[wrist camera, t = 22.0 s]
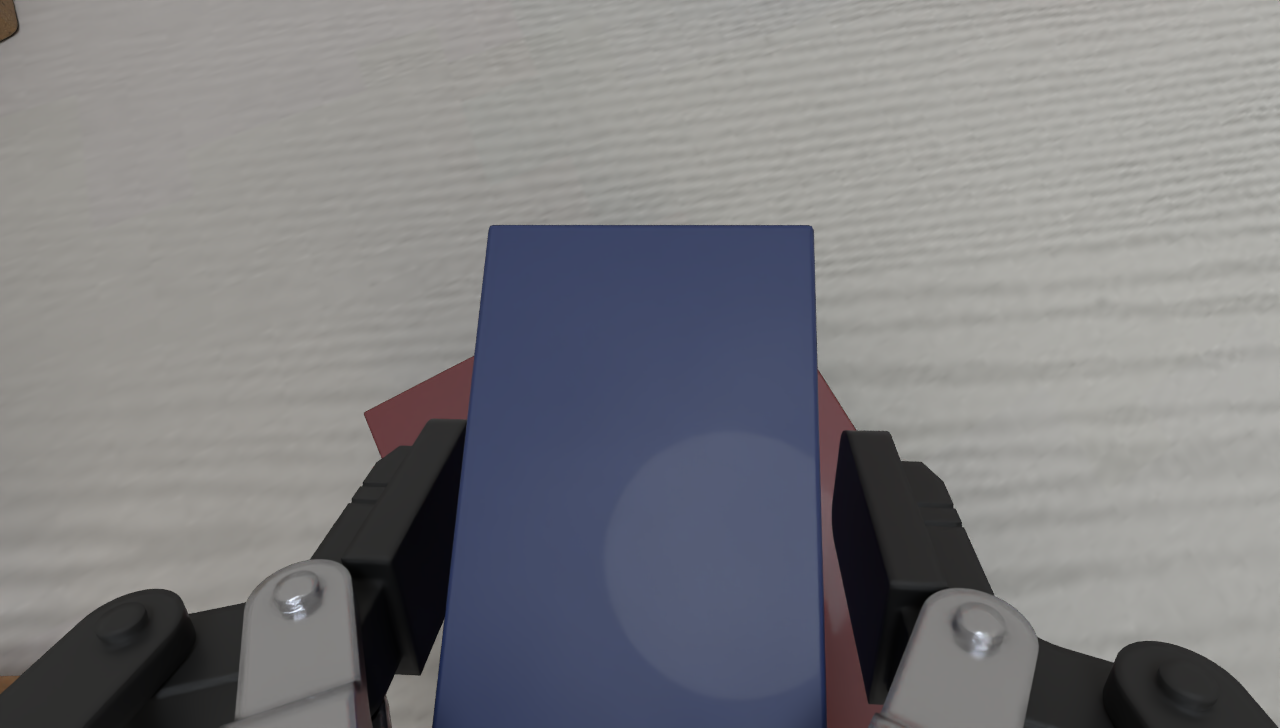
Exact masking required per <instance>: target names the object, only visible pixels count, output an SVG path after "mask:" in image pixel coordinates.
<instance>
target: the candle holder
mask: <svg viewBox="0 0 1280 728" xmlns="http://www.w3.org/2000/svg"><path fill="white" fill-rule="evenodd" d="M17 25H18V24H17V19H16V14H15V9H14V5H13V1H12V0H0V41H1V40H3V39H5V38H6V37H8V36H10V35H12V34H13V33H14V32H15V31H16V29H17Z"/></svg>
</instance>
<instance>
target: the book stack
mask: <svg viewBox="0 0 1280 728" xmlns="http://www.w3.org/2000/svg"><path fill="white" fill-rule="evenodd" d="M473 363H474V356H473V357H471V358H469V359H467V360H465V361H463V362H461V363H459V364H457V365H455V366H453V367H451V368H449V369H447V370H445V371H444V372H442V373H440V374H438V375H436V376H434V377H432V378H430V379H428V380H426V381H424V382H422V383H420V384H418V385H416V386H414V387H412V388H411V389H409V390H407V391H405V392H403V393H401V394H399V395H397V396H395V397H393V398H391V399H389V400H387V401H385V402H383V403H381V404H379V405H378V406H376V407H374V408H372V409H370V410H368V411H366V412H364V416H365V418H366V421H367V423H368V426H369V428H370V430H371V433H372V435H373V438H374V440H375V443H376V445H377V448H378V450H379V453H380V455H381V458H383V457H385V456H386V455H388V454H389V453H390V452H392V451H393V450H394V449H396V448H397V447H398V446H400V445H402V446H412V445H413V443H414V442H415V440H416V439H417V437H418V436H419V434H420V432H421V431H422V429H423V428H424V426H425V425H426V423H427V422H428V421H429V420H430V419H467V416H468V407H469V399H470V390H471V381H472V372H473ZM818 406H819V443H820V480H821V518H822V555H823V592H824V630H825V667H826V704H827V728H868V726H869V724H870V722H871V719H872V717H873V716H874V714H875V713H876V712H877V713H879V714H880V712H881V710H882V708H883V705H873V704H868V700H867V695H866V691H865V686H864V681H863V677H862V672H861V667H860V662H859V658H858V653H857V648H856V643H855V639H854V634H853V629H852V624H851V620H850V615H849V610H848V605H847V601H846V596H845V591H844V586H843V582H842V577H841V572H840V567H839V563H838V558H837V553H836V548H835V544H834V539H833V531H832V500H833V492H834V484H835V476H836V468H837V460H838V452H839V444H840V438H841V434H842V432H843V431H844V430H856V429H855V427H854V426H853V424H852V423H851V421H850V419H849V418H848V416H847V415H846V413H845V411H844V410H843V408H842V407H841V405H840V404H839V402H838V400H837V399H836V397H835V396H834V394H833V392H832V391H831V389H830V388H829V386H828V385H827V383H826V381H825V380H824V378H823V377H822V375H821V373H820V372H819V370H818ZM856 431H857V430H856Z"/></svg>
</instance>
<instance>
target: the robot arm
mask: <svg viewBox="0 0 1280 728" xmlns="http://www.w3.org/2000/svg"><path fill="white" fill-rule="evenodd" d="M466 425H467V419H430V420H429V421H428V422H427V423H426V425H425V426H424V428H423V429H422V431H421V432H420V434H419V436H418V437H417V439H416V440H415V442H414V443H413V445H412V446H402V445H400V446H398V447H397V448H396V449H394V450H393V451H392V452H390V453H389V454H388V455H386V456H385V457H383V458H382V459H381V460H379V461H378V462H377V463H376V464H375V466H374V467H373V469H372V470H371V471H370V473H369V474H368V476H367V477H366V479H365V480H364V482H363V486H362V487H359V489H358V490H357V492H356V493H355V495H354V496H353V498H352V502H351V503H349V504H348V505H347V506H346V508H345V509H344V511H343V512H342V514H341V515H340V517H339V518H338V520H337V521H336V522H335V524H334V525H333V527H332V528H331V530H330V531H329V533H328V534H327V536H326V537H325V539H324V540H323V541H322V543H321V544H320V546H319V547H318V549H317V550H316V552H315V553H314V555H313V556H312V557H311V559H310V560H307V561H302V562H298V563H295V564H292V565H289V566H287V567H285V568H282V569H280V570H279V571H277V572H275V573H273V574H272V575H270V576H269V577H267V578H266V579H265V580H264V581H262V582H261V583H260V584H259V585H258V586H257V587H256V588H255V589H254V590H253V592H252V593H251V595H250V596H249V598H248V600H247V602H245V603H241V604H237V605H232V606H227V607H222V608H217V609H212V610H207V611H202V612H197V613H192V614H188V612H187V610H186V608H185V606H184V603H183V601H182V599H181V598H180V597H179V596H178V595H177V594H176V593H174V592H172V591H169V590H165V589H147V590H142V591H137V592H133V593H130V594H127V595H124V596H121V597H119V598H116V599H114V600H112V601H110V602H108V603H106V604H104V605H103V606H101V607H99V608H98V609H96V610H95V611H93V612H92V613H90V614H89V615H88V616H86V617H85V618H84V619H83V620H82V621H80V622H79V623H78V624H77V625H76V626H75V627H74V628H73V629H72V630H70V631H69V632H68V633H67V634H66V635H65V636H64V637H63V638H62V639H61V640H59V641H58V642H57V643H56V644H55V645H54V646H53V647H52V648H51V649H49V650H48V651H47V652H46V653H45V654H44V655H43V656H42V657H41V658H40V659H38V660H37V661H36V662H35V663H34V664H33V665H32V666H31V667H30V668H29V669H27V670H26V671H25V672H24V673H23V674H22V675H21V676H20V677H19V678H18V679H16V680H15V681H14V682H13V683H12V684H11V685H10V686H9V687H8V688H7V689H5V690H4V691H3V692H2V693H1V694H0V728H392V726H391V718H390V710H389V704H388V700H387V697H386V693H387V690H388V688H389V686H390V684H391V681H392V679H393V677H394V675H395V674H401V675H418V676H420V675H421V673H422V671H423V668H424V666H425V663H426V661H427V659H428V656H429V654H430V651H431V649H432V647H433V644H434V642H435V639H436V637H437V635H438V632H439V630H440V627H441V625H442V623H443V620H444V618H445V611H446V602H447V593H448V584H449V575H450V566H451V558H452V549H453V540H454V531H455V522H456V513H457V505H458V496H459V487H460V478H461V469H462V460H463V452H464V443H465V434H466ZM832 531H833V539H834V544H835V548H836V553H837V558H838V563H839V567H840V572H841V577H842V582H843V586H844V591H845V596H846V601H847V605H848V610H849V615H850V620H851V624H852V629H853V634H854V639H855V643H856V648H857V653H858V658H859V662H860V667H861V672H862V677H863V681H864V686H865V691H866V695H867V700H868V704H873V705H883V708H882V710H881V712H880V714H879V713H877V712H876V713H875V714H874V716H873V717H872V719H871V722H870V724H869V726H868V728H1278V727H1277V725H1276V724H1275V723H1274V722H1273V721H1272V720H1271V718H1270V717H1269V716H1268V715H1267V714H1266V713H1265V711H1264V710H1263V709H1262V708H1261V707H1260V706H1259V705H1258V703H1257V702H1256V701H1255V700H1254V699H1253V698H1252V696H1251V695H1250V694H1249V693H1248V692H1247V691H1246V689H1245V688H1244V687H1243V686H1242V685H1241V684H1240V683H1239V682H1238V681H1237V680H1236V679H1235V678H1234V677H1233V676H1232V675H1230V674H1229V673H1228V672H1227V671H1226V670H1224V669H1223V668H1221V667H1220V666H1218V665H1217V664H1216V663H1214V662H1212V661H1211V660H1209V659H1207V658H1205V657H1204V656H1202V655H1200V654H1197V653H1195V652H1193V651H1191V650H1188V649H1186V648H1183V647H1180V646H1177V645H1173V644H1169V643H1164V642H1158V641H1142V642H1136V643H1132V644H1129V645H1127V646H1126V647H1124V648H1123V649H1122V650H1121V651H1120V652H1119V653H1118V655H1117V657H1116V659H1115V662H1114V663H1113V662H1109V661H1106V660H1103V659H1099V658H1096V657H1092V656H1089V655H1086V654H1082V653H1079V652H1075V651H1072V650H1069V649H1065V648H1062V647H1059V646H1056V645H1053V644H1051V643H1049V642H1047V641H1044V640H1042V639H1040V638H1038V637H1037V636H1036V633H1035V631H1034V629H1033V627H1032V626H1031V624H1030V623H1029V621H1028V620H1027V619H1026V618H1025V617H1024V616H1023V615H1022V614H1021V613H1020V612H1019V611H1018V610H1017V609H1015V608H1014V607H1013V606H1011V605H1010V604H1008V603H1007V602H1005V601H1003V600H1001V599H1000V598H998V597H995V596H994V593H993V591H992V589H991V587H990V584H989V582H988V580H987V578H986V576H985V573H984V571H983V569H982V567H981V564H980V562H979V560H978V558H977V555H976V553H975V551H974V549H973V547H972V544H971V542H970V540H969V538H968V535H967V533H966V531H965V529H964V527H962V522H961V520H960V518H959V515H958V513H957V511H956V509H954V508H953V502H952V500H951V498H950V495H949V493H948V491H947V489H946V487H945V484H944V482H943V481H942V480H941V479H940V478H939V477H938V476H937V475H935V474H934V473H933V472H932V471H931V470H930V469H929V468H928V467H927V466H926V465H925V464H923V463H922V462H909V461H901V460H900V458H899V455H898V452H897V450H896V447H895V444H894V442H893V439H892V437H891V434H890V433H889V432H888V431H856V430H844V431H843V432H842V434H841V438H840V444H839V452H838V460H837V468H836V476H835V484H834V492H833V500H832Z"/></svg>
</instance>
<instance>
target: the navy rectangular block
mask: <svg viewBox="0 0 1280 728" xmlns="http://www.w3.org/2000/svg"><path fill="white" fill-rule="evenodd" d="M432 728H827V704H826V667H825V630H824V592H823V555H822V518H821V480H820V443H819V406H818V368H817V331H816V294H815V256H814V230H813V228H812V226H809V225H492V226H490V228H489V231H488V240H487V249H486V257H485V266H484V275H483V284H482V293H481V302H480V310H479V319H478V328H477V337H476V346H475V355H474V363H473V372H472V381H471V390H470V399H469V407H468V416H467V425H466V434H465V443H464V452H463V460H462V469H461V478H460V487H459V496H458V505H457V513H456V522H455V531H454V540H453V549H452V558H451V566H450V575H449V584H448V593H447V602H446V611H445V619H444V628H443V637H442V646H441V655H440V663H439V672H438V681H437V690H436V699H435V708H434V716H433V725H432Z"/></svg>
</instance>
